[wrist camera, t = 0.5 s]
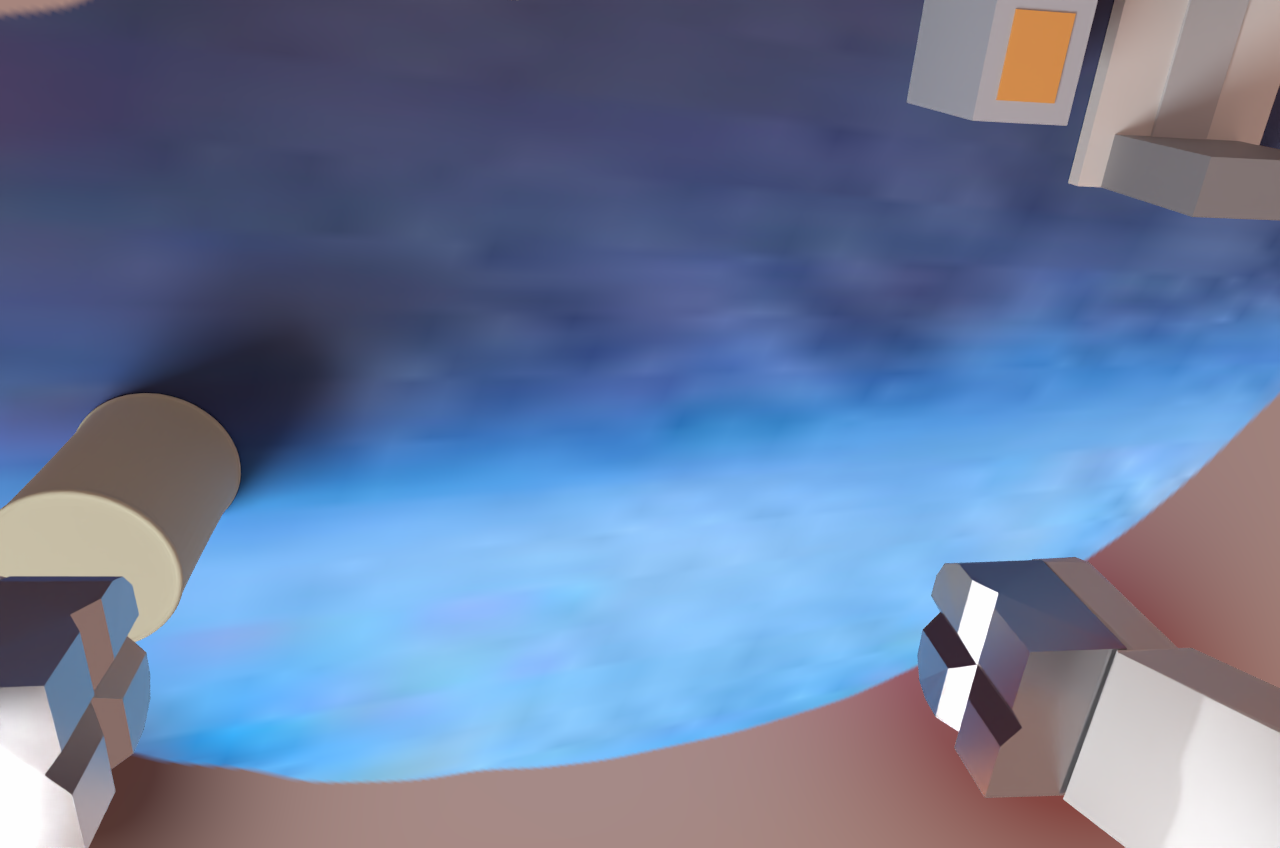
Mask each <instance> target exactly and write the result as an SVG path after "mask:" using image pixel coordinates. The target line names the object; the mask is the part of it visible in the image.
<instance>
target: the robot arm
mask: <svg viewBox="0 0 1280 848" xmlns="http://www.w3.org/2000/svg"><path fill="white" fill-rule="evenodd" d="M931 596H932V598H933V600H934V602H935V603H936V605H937V607H938V609H939V611H940V613H939V614H938V615H937V616H936V617H935V618H934V619H933V620H932V621H931V622H930V623H929V624H928V625H927V626H926V627H925V628H924V629H923V631H922V636H921V641H920V646H919V650H918V668H919V681H920V684H921V687H922V690H923V693H924V696H925V699H926V701H927V703H928V704H929V706H930V708H931V710H932V711H933V713H934V715H935V716H936V717H937V718H938V719H940V720H942V721H943V722H945V723H946V724H948V725H949V726H951V727H952V728H954V729H956V730H957V731H959V733H958V737H957V740H956V744H955V749H956V751H957V753H958V755H959V756H960V758H961V759H962V761H963V763H964V765H965V766H966V768H967V769H968V771H969V773H970V774H971V776H972V778H973V779H974V781H975V783H976V784H977V786H978V788H979V789H980V791H981V792H982V794H983V796H984V797H985V798H992V797H1025V796H1056V795H1064V798H1063V799H1064V800H1065V801H1066V802H1068V803H1069V804H1070V805H1071V806H1073V807H1074V808H1075V809H1077V810H1078V811H1079V812H1081V813H1082V814H1083V815H1085V816H1086V817H1087V818H1088V819H1089V820H1091V821H1092V822H1093V823H1095V824H1096V825H1097V826H1099V827H1100V828H1101V829H1102V830H1104V831H1105V832H1106V833H1108V834H1109V835H1110V836H1112V837H1113V838H1114V839H1115V840H1117V841H1118V842H1119V843H1121V844H1122V845H1123V846H1125V847H1126V848H1280V688H1278V687H1276V686H1274V685H1271V684H1269V683H1267V682H1265V681H1263V680H1261V679H1258V678H1256V677H1254V676H1252V675H1250V674H1248V673H1245V672H1243V671H1241V670H1239V669H1237V668H1234V667H1232V666H1230V665H1228V664H1225V663H1223V662H1221V661H1219V660H1217V659H1215V658H1213V657H1210V656H1208V655H1206V654H1204V653H1202V652H1199V651H1197V650H1195V649H1193V648H1177V647H1176V646H1175V645H1174V644H1173V643H1172V642H1171V641H1170V640H1169V639H1168V638H1167V637H1166V636H1165V635H1164V634H1163V633H1162V632H1161V631H1159V629H1158V628H1156V627H1155V626H1154V625H1153V624H1152V623H1151V622H1150V621H1149V620H1148V619H1147V618H1146V617H1145V616H1144V615H1143V614H1142V613H1141V612H1140V611H1139V610H1138V609H1137V608H1136V607H1135V606H1134V605H1133V604H1132V603H1131V602H1130V601H1128V600H1127V599H1126V598H1125V597H1124V596H1123V595H1122V594H1121V593H1120V592H1119V591H1118V590H1117V589H1116V588H1115V587H1114V586H1113V585H1112V584H1111V583H1110V582H1109V581H1108V580H1107V579H1106V578H1104V576H1103V575H1101V574H1100V573H1099V572H1098V571H1097V570H1096V569H1095V568H1094V567H1093V566H1092V565H1091V564H1090V563H1089V562H1087V561H1084V560H1081V559H1079V558H1076V557H1068V558H1050V559H1032V560H1025V561H997V562H970V563H945V564H944V565H943V567H942V568H941V570H940V571H939V573H938V574H937V576H936V580H935V583H934V587H933V591H932V595H931ZM138 616H139V611H138V607H137V603H136V598H135V594H134V590H133V585H132V584H131V583H130V582H128V581H127V580H126V579H125V578H124V577H123V576H9V577H7V578H6V577H2V576H0V848H88V847H89V845H90V843H91V841H92V839H93V837H94V835H95V833H96V831H97V829H98V826H99V825H100V823H101V820H102V818H103V816H104V814H105V812H106V810H107V808H108V806H109V804H110V802H111V799H112V797H113V795H114V793H115V787H114V782H113V778H112V773H111V769H112V768H114V767H115V766H116V765H118V764H119V763H121V762H122V761H123V760H125V759H126V758H128V757H129V756H130V755H132V754H133V753H134V751H135V748H136V746H137V744H138V742H139V739H140V737H141V735H142V733H143V730H144V727H145V722H146V717H147V712H148V707H149V702H150V671H149V665H148V659H147V653H146V652H145V651H144V650H143V649H142V648H140V647H139V646H138V645H137V644H136V643H135V642H134V641H133V640H131V639H130V638H129V637H128V634H129V632H130V630H131V628H132V626H133V625H134V623H135V621H136V619H137V617H138Z"/></svg>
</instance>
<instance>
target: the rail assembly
mask: <svg viewBox="0 0 1280 848" xmlns="http://www.w3.org/2000/svg"><path fill="white" fill-rule="evenodd" d="M1279 85H1280V0H1114V4H1113V8H1112V12H1111V16H1110V20H1109V24H1108V28H1107V32H1106V36H1105V40H1104V44H1103V48H1102V51H1101V55H1100V59H1099V63H1098V67H1097V71H1096V75H1095V79H1094V83H1093V87H1092V91H1091V95H1090V99H1089V103H1088V107H1087V111H1086V114H1085V118H1084V122H1083V126H1082V130H1081V134H1080V138H1079V142H1078V146H1077V150H1076V154H1075V158H1074V162H1073V166H1072V170H1071V174H1070V177H1069V181H1068V183H1070V184H1073V185H1076V186H1087V187H1102V188H1105V189H1108V190H1111V191H1114V192H1117V193H1121V194H1124V195H1127V196H1130V197H1133V198H1136V199H1139V200H1142V201H1145V202H1148V203H1151V204H1154V205H1157V206H1161V207H1164V208H1167V209H1170V210H1173V211H1176V212H1179V213H1182V214H1185V215H1188V216H1191V217H1209V218H1234V219H1260V220H1280V149H1275V148H1270V147H1265V146H1260V142H1261V139H1262V136H1263V133H1264V130H1265V127H1266V124H1267V121H1268V118H1269V115H1270V112H1271V109H1272V106H1273V103H1274V100H1275V97H1276V94H1277V91H1278V88H1279Z"/></svg>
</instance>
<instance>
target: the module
mask: <svg viewBox="0 0 1280 848" xmlns="http://www.w3.org/2000/svg"><path fill="white" fill-rule="evenodd" d="M1097 2H1098V0H925V1H924V7H923V13H922V18H921V24H920V30H919V35H918V41H917V47H916V52H915V58H914V64H913V69H912V75H911V81H910V86H909V92H908V98H907V103H910V104H914V105H917V106H921V107H925V108H928V109H932V110H936V111H939V112H943V113H947V114H950V115H954V116H958V117H961V118H965V119H968V120H972V121H990V122H1008V123H1027V124H1045V125H1063V126H1067V123H1068V119H1069V115H1070V111H1071V107H1072V103H1073V99H1074V95H1075V91H1076V87H1077V83H1078V79H1079V75H1080V71H1081V67H1082V63H1083V59H1084V54H1085V50H1086V46H1087V42H1088V38H1089V34H1090V30H1091V26H1092V22H1093V18H1094V14H1095V10H1096V6H1097Z"/></svg>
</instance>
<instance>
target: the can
mask: <svg viewBox="0 0 1280 848" xmlns="http://www.w3.org/2000/svg"><path fill="white" fill-rule="evenodd" d="M240 479H241V465H240V459H239V455H238V452H237V449H236V447H235V445H234V443H233V441H232V439H231V437H230V436H229V434H228V433H227V432H226V430H225V429H224V428H223V427H222V425H221V424H220V423H219V422H218V421H217V420H215V419H214V418H213V417H212V416H211V415H209V414H208V413H207V412H205V411H204V410H202V409H200V408H199V407H197V406H195V405H193V404H191V403H189V402H187V401H185V400H182V399H179V398H176V397H172V396H168V395H163V394H154V393H138V394H129V395H124V396H121V397H117V398H114V399H112V400H109V401H107V402H105V403H103V404H102V405H100V406H98V407H97V408H96V409H94V410H93V411H92V412H91V413H90V414H89V415H88V416H87V417H86V418H85V419H84V420H83V422H82V423H81V424H80V426H79V428H78V429H77V431H76V433H75V434H74V435H73V436H72V437H71V439H70V440H69V441H68V442H67V443H66V444H65V445H64V446H63V447H62V448H61V449H60V450H59V451H58V452H57V453H56V455H55V456H54V457H53V458H52V459H51V460H50V461H49V462H48V463H47V464H46V465H45V466H44V467H43V468H42V469H41V470H40V472H39V473H38V474H37V475H36V476H35V477H34V478H33V479H32V480H31V481H30V482H29V483H28V484H27V485H26V486H25V487H24V488H23V489H22V490H21V491H20V492H19V493H18V494H17V495H16V496H15V497H14V498H13V499H12V500H11V501H10V502H9V503H8V504H7V505H6V506H4V507H3V508H1V509H0V576H2V577H6V578H7V577H9V576H123V577H124V578H125V579H126V580H127V581H128V582H130V583H131V584H132V585H133V590H134V594H135V598H136V603H137V607H138V611H139V616H138V617H137V619H136V621H135V623H134V625H133V626H132V628H131V630H130V632H129V634H128V637H129V638H130V639H131V640H133V641H134V642H136V641H139V640H141V639H143V638H145V637H147V636H149V635H150V634H152V633H153V632H155V631H156V630H158V629H159V628H160V627H161V626H162V625H164V623H165V622H166V621H167V620H168V619H169V618H170V617H171V616H172V614H173V613H174V611H175V609H176V608H177V606H178V604H179V601H180V599H181V596H182V592H183V590H184V588H185V586H186V584H187V582H188V580H189V578H190V576H191V574H192V572H193V570H194V568H195V566H196V564H197V562H198V560H199V558H200V556H201V554H202V552H203V550H204V548H205V546H206V544H207V542H208V540H209V538H210V536H211V535H212V533H213V531H214V529H215V527H216V525H217V523H218V522H219V520H220V518H221V516H222V514H223V512H224V511H225V510H226V509H227V508H228V507H229V505H230V504H231V503H232V501H233V499H234V498H235V496H236V493H237V491H238V488H239V484H240Z"/></svg>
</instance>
